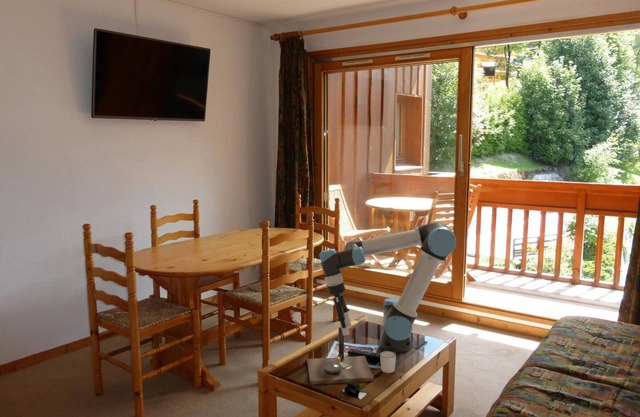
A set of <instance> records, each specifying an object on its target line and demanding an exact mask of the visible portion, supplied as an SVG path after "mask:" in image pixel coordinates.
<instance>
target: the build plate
mask: <svg viewBox="0 0 640 417" xmlns="http://www.w3.org/2000/svg"><path fill="white" fill-rule="evenodd" d="M360 389H361V387H360V382H354V381H350V382H347V385H346V386H345V387H344V388H343V389H342V390H340V391H339V394H342V395H346V396H348V397H350V398H351V397H352V398H355V399H357V400H362V399H363V398H364V397H365V396H366V395H367V392H366V391H365V392H364V391H361V390H360Z"/></svg>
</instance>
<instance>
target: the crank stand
mask: <svg viewBox="0 0 640 417" xmlns="http://www.w3.org/2000/svg"><path fill="white" fill-rule="evenodd" d="M336 357H337V356H335V357H322V358H321V357H319V358H318V357H317V358H306V363H307V364H306V365H307V370H308V372H307V373H308V376H309V377H308V378H309V383H310V384H309V385H322V384H323V385H325V384H340V383H342V384H343V383H349V382H350V381H354V382H357V383H361V382H374V380H375V379H374V378H375V376H374V375H373V372H372V370H371V367H370V365H369V363H368V362H369V361H367V358H366V356H365V355H361V356H359V355H358V356H357V355H356V356H344V359H341V361H340V364H341V372H340V373H338V374H328V373H326V372H325V370H324V365H325V363H327V362H330V361H334V360H335V358H336Z"/></svg>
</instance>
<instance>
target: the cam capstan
mask: <svg viewBox="0 0 640 417" xmlns="http://www.w3.org/2000/svg"><path fill="white" fill-rule="evenodd" d="M337 329H338V355H337V356H335V357H336V358H335V357H334V358H335V360H334V361H330V362H327V363H325V365H324V370H325V372H326V373H328V374H338V373H340V372H341V364H340V361H341V359H344V357H345V336H343V333H342V329H341V326H339V327H338V328H337Z"/></svg>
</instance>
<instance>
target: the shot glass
mask: <svg viewBox="0 0 640 417" xmlns="http://www.w3.org/2000/svg"><path fill="white" fill-rule="evenodd" d="M396 358H397V354H396V353H395V352H391V351H385V350H384V351H381V352H380V353H379V359H380V370H381V371H382V372H383V373H386V374H387V373H388V374H389V373H394V372H395V371H396V369H395V368H396V361H397V359H396Z"/></svg>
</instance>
